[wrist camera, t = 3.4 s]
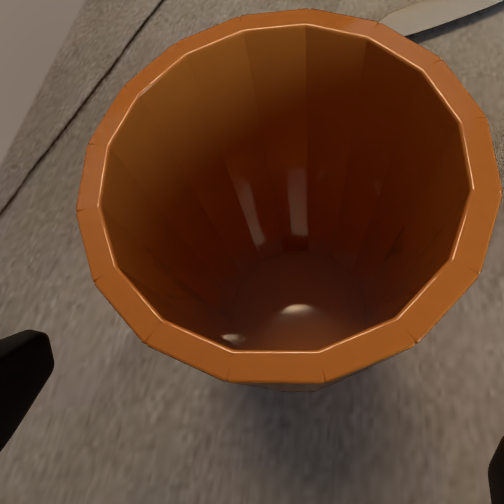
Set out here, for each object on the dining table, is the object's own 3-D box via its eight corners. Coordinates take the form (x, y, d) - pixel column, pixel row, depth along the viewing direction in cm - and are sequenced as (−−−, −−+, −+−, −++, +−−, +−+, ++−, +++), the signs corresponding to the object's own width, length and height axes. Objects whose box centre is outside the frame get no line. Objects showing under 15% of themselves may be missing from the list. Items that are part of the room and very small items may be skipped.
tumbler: (299, 426, 17) (274, 501, 5) (197, 315, 19) (6, 180, 7) (404, 314, 18) (598, 147, 6) (295, 220, 20) (273, -42, 8)
